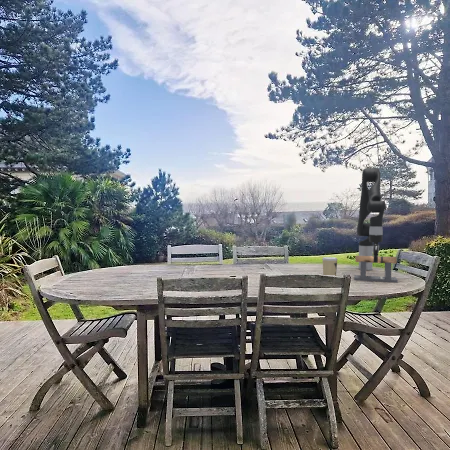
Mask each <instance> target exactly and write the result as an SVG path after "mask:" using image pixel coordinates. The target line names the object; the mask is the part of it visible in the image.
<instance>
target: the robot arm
mask: <svg viewBox="0 0 450 450" xmlns="http://www.w3.org/2000/svg"><path fill="white" fill-rule="evenodd" d="M367 183H373V184H372V185H371V187H370V188H369V186H368V184H367ZM386 208H387V204H386V202H385V201H384V200H383V201H382V193H381V170H380V169H379V168H376V167H367V168H363V170H362V174H361V193H360V199H359V215H358V221H357V228H356V234H357V235H358V237H366V238H365V239H364V240H363V239H362V240H360V241H359V242H358V256H374V264H379V263H378V256H379V252H380V249H379V248H380V244H379V243H382V242H383V237H384V235H383V234H384V233H383V232H384V231H383V219H384V214H385V211H386ZM372 213H373V214H377V213H378V215H376V216H374V215H373V216H371V217H369V223H364V222H365V221H366V219H367V218H368V216H369V215H370V214H372ZM358 270H361V262H358ZM366 271H373V263H367V262H366Z"/></svg>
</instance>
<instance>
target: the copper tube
mask: <svg viewBox="0 0 450 450" xmlns="http://www.w3.org/2000/svg"><path fill="white" fill-rule="evenodd" d="M361 261H366V262H367V263H372V264H373V263H374V256H359V255H355V263H359V262H361ZM386 262H391V265H392V264H396V265H397V256H384V255H383V256H382V255H380V256H379V255H378V263H377V264H385V263H386ZM374 264H375V263H374Z"/></svg>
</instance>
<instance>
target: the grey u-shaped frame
mask: <svg viewBox="0 0 450 450" xmlns="http://www.w3.org/2000/svg"><path fill="white" fill-rule="evenodd" d="M359 270H360V269H359ZM366 273H367V270H366V261H361V270H360V273H359V274H354V278H353V279H354V281H363V282H377V283H378V282H380V283H394V284H395V283H397V284H398V280H399V279H397V277H394V276H392V263H391V262H386V263H384V276H381V275H380V276H378V275H377V276H376V275H367V274H366Z"/></svg>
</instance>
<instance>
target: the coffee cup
mask: <svg viewBox="0 0 450 450" xmlns="http://www.w3.org/2000/svg"><path fill="white" fill-rule="evenodd" d="M321 260H322V273H323V275H335V276H336V277H337V270H338V269H337V268H338V258H337V257H334V256H333V257H332V256H331V257H330V256H325V257H322V259H321Z"/></svg>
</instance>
